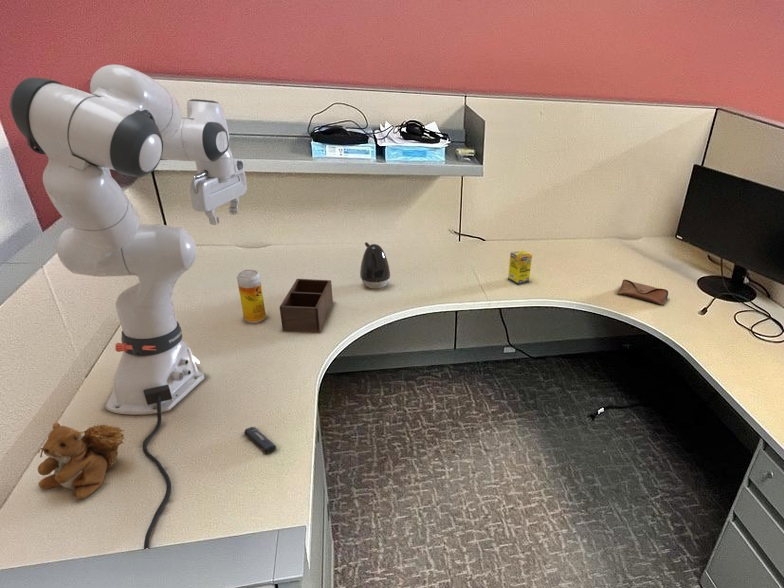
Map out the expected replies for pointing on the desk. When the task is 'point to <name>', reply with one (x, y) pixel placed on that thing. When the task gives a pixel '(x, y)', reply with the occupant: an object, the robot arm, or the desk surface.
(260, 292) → the beer can
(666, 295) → the sunglasses case
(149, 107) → the robot arm
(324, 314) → the box
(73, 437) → the stuffed squirrel
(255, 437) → the usb stick
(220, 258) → the desk surface
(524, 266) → the supplement box
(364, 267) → the black egg-shaped figure
